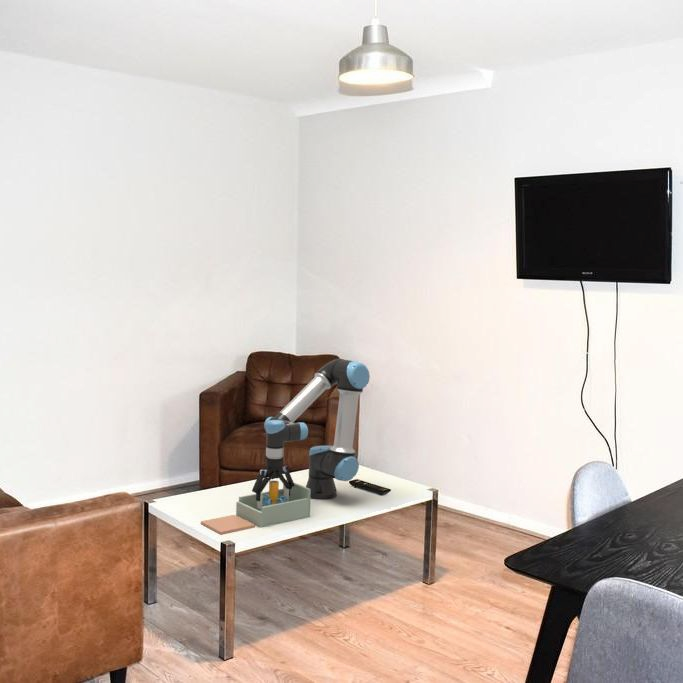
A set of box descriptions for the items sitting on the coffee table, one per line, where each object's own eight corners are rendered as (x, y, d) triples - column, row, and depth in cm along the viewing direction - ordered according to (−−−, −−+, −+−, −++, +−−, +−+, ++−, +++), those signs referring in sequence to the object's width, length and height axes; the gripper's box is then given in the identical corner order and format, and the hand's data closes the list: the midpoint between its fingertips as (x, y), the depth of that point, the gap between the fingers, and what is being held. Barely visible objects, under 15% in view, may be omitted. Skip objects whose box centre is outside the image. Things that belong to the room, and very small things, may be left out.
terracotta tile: (234, 517, 346) (234, 514, 346) (254, 527, 334) (254, 524, 334) (200, 523, 336) (200, 521, 336) (220, 534, 324) (220, 532, 324)
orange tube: (261, 520, 342) (261, 485, 341) (256, 513, 352) (257, 479, 351) (289, 519, 346) (290, 484, 344) (284, 511, 356) (285, 477, 354)
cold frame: (284, 505, 364) (285, 479, 363) (309, 516, 350) (310, 489, 349) (236, 515, 348) (236, 488, 347) (260, 527, 334) (260, 498, 333)
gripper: (293, 451, 357) (291, 499, 359) (244, 458, 342) (243, 508, 343) (303, 455, 352) (301, 503, 354) (254, 462, 336) (253, 512, 338)
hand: (272, 505), depth 349 cm, fingers open, 13 cm apart
